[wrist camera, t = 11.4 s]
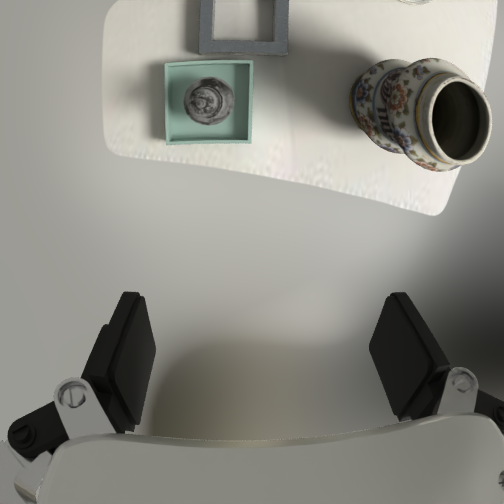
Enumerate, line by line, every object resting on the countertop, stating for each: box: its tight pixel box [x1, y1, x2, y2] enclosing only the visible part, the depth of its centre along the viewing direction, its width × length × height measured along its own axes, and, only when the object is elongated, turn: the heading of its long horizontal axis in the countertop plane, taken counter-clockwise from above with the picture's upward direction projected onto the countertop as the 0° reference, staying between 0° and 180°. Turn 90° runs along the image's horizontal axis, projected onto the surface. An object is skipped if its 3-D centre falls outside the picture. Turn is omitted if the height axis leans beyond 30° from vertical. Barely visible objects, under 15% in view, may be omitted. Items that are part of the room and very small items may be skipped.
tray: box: [165, 60, 253, 145], centre depth 34 cm, size 10×10×3 cm
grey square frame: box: [199, 0, 289, 56], centre depth 29 cm, size 10×10×2 cm
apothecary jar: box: [350, 58, 492, 172], centre depth 28 cm, size 12×12×18 cm
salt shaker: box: [183, 77, 235, 125], centre depth 29 cm, size 6×6×12 cm
